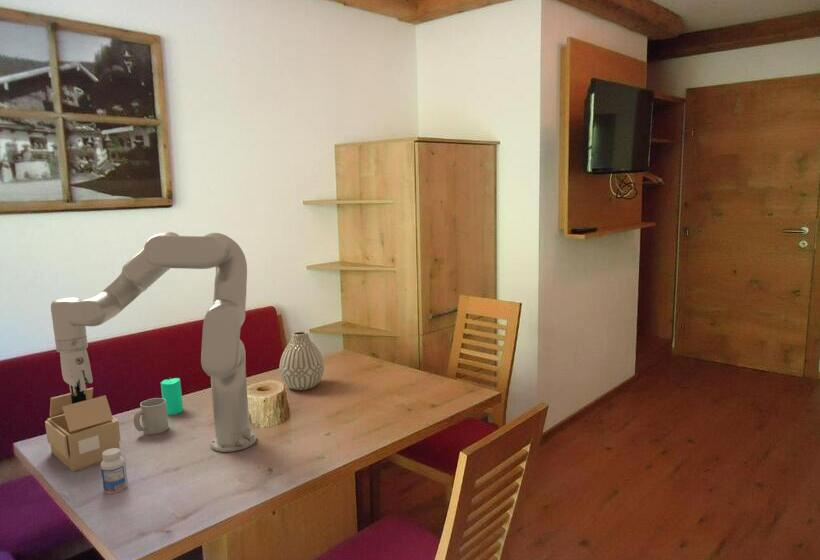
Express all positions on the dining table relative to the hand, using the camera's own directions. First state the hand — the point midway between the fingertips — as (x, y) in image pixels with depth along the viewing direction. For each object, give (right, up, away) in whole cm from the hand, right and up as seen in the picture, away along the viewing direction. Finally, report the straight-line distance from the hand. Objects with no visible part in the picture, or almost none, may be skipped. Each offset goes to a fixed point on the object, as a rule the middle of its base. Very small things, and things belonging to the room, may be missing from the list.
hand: (79, 407), depth 167 cm
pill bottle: (+19, -16, -18) cm, 30 cm away
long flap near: (+6, -4, -5) cm, 9 cm away
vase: (+52, -4, +53) cm, 74 cm away
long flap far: (-6, -3, +7) cm, 10 cm away
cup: (+13, -11, +17) cm, 24 cm away
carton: (0, -13, +2) cm, 14 cm away
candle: (+13, -8, +33) cm, 36 cm away
